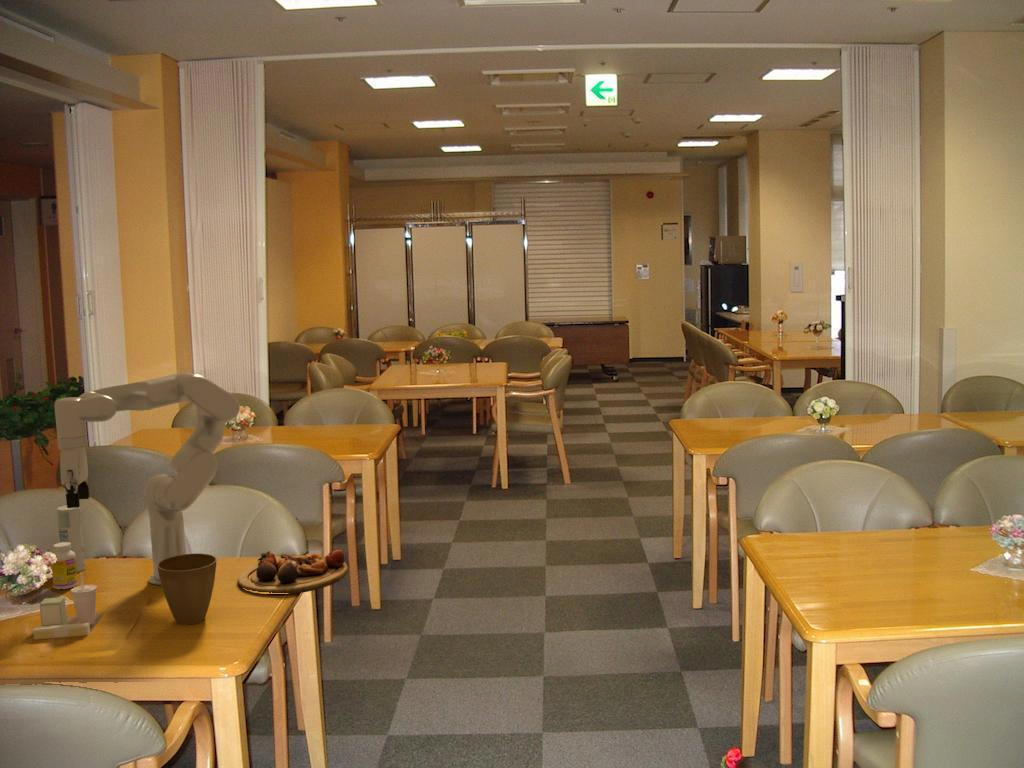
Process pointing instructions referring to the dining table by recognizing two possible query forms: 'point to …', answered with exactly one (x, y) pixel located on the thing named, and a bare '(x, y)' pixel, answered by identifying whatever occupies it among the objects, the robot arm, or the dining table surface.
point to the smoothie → (85, 602)
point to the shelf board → (74, 620)
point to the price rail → (61, 631)
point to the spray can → (72, 532)
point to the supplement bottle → (64, 567)
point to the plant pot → (188, 585)
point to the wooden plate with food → (294, 572)
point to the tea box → (53, 611)
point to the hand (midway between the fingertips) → (78, 503)
